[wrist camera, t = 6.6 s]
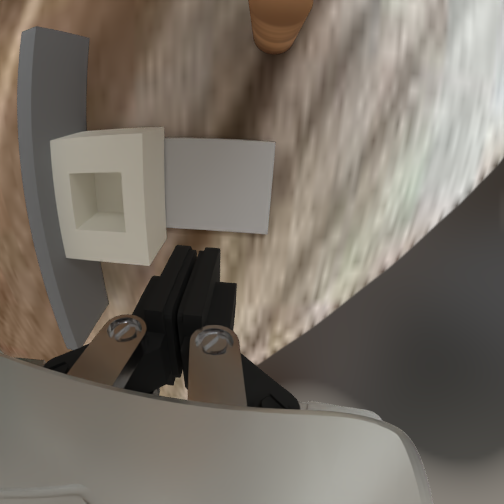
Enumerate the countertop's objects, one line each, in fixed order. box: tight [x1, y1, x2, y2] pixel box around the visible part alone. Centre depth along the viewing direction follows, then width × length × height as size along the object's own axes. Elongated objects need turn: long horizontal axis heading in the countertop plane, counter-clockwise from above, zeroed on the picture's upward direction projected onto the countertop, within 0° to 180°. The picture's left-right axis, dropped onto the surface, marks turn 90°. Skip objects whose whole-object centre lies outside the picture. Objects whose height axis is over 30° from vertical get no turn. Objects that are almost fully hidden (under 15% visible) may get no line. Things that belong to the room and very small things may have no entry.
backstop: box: [17, 26, 275, 350], centre depth 22 cm, size 28×18×8 cm, turn 176°
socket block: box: [50, 127, 167, 266], centre depth 23 cm, size 10×8×5 cm
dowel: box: [248, 0, 313, 54], centre depth 16 cm, size 3×3×10 cm
